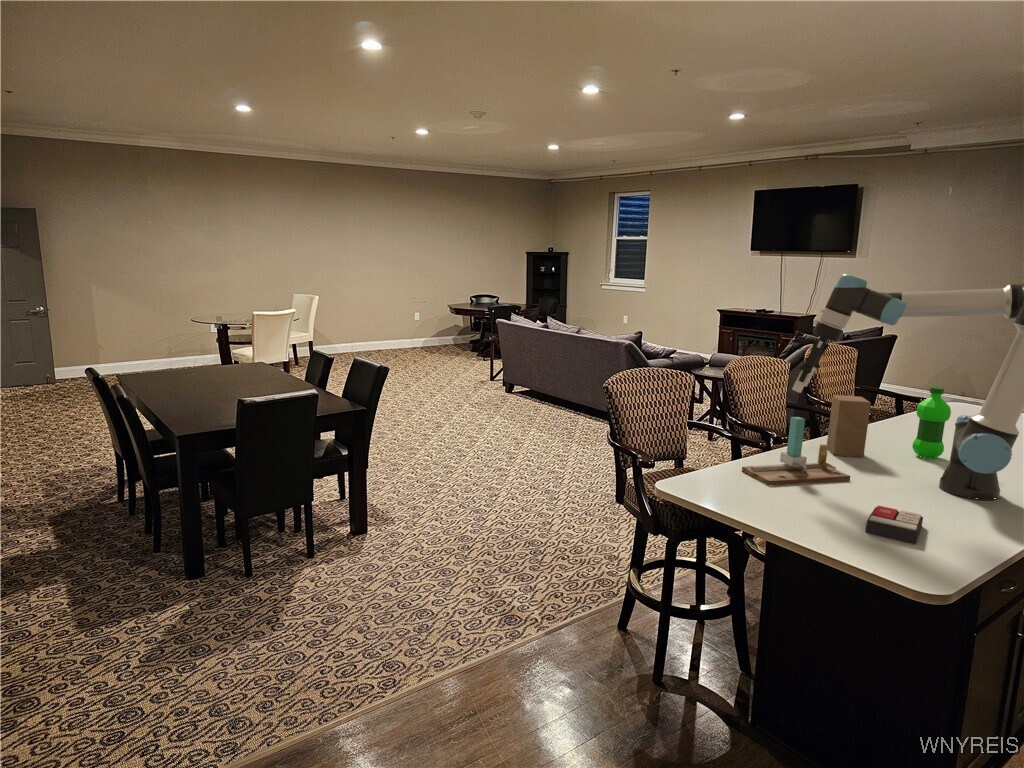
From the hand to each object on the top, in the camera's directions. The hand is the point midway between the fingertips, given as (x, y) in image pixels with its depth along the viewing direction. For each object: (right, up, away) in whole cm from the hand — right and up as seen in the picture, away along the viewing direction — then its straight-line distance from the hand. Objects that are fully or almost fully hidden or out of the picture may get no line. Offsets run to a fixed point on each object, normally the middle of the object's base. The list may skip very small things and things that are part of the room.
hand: (799, 388), depth 207 cm
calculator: (+8, -36, -38) cm, 53 cm away
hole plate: (0, -28, +3) cm, 28 cm away
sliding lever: (+1, -26, +4) cm, 26 cm away
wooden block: (+30, -24, +31) cm, 49 cm away
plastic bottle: (+58, -25, +30) cm, 70 cm away
